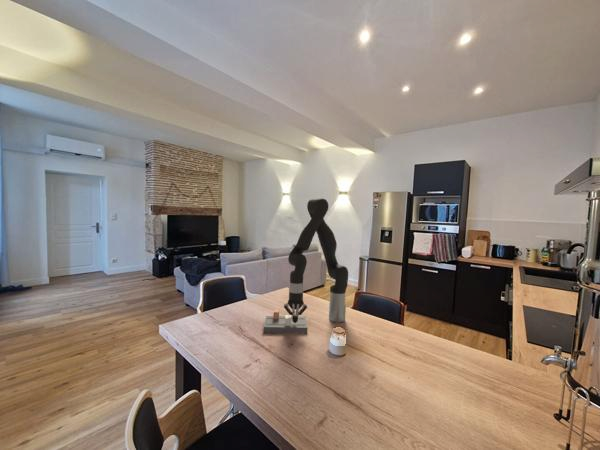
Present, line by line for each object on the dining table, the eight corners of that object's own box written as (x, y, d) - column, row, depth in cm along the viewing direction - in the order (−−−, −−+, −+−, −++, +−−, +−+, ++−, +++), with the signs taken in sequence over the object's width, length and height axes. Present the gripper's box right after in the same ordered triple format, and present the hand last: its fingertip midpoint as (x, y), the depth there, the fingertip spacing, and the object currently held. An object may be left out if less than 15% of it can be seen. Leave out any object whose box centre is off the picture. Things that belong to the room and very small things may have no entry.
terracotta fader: (279, 316, 144) (279, 309, 144) (278, 319, 140) (279, 312, 140) (273, 315, 144) (274, 309, 144) (273, 319, 140) (273, 312, 140)
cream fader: (290, 322, 137) (291, 315, 136) (290, 326, 132) (291, 318, 132) (285, 322, 136) (285, 315, 136) (285, 325, 132) (285, 318, 132)
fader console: (305, 321, 146) (305, 316, 146) (307, 333, 132) (307, 327, 132) (265, 320, 145) (266, 315, 145) (263, 332, 131) (263, 326, 131)
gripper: (307, 288, 138) (306, 319, 138) (283, 288, 137) (282, 319, 138) (309, 292, 130) (307, 325, 131) (283, 292, 129) (282, 325, 130)
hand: (294, 322), depth 134 cm, fingers closed
